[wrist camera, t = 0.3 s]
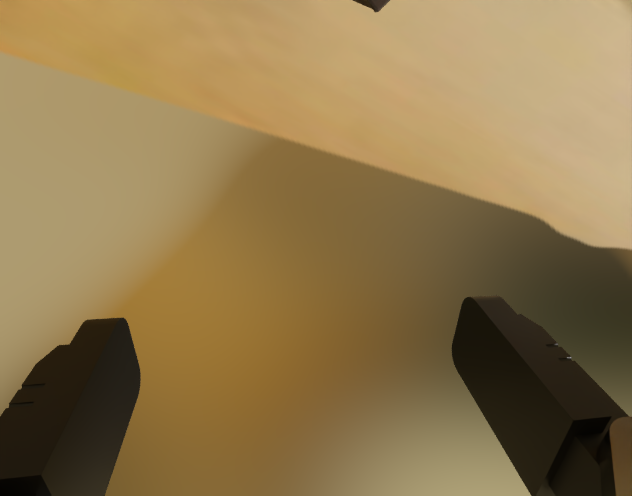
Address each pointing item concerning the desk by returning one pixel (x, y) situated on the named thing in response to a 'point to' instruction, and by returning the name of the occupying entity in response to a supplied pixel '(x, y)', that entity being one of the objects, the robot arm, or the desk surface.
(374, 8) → the coffee box
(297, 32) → the desk surface
